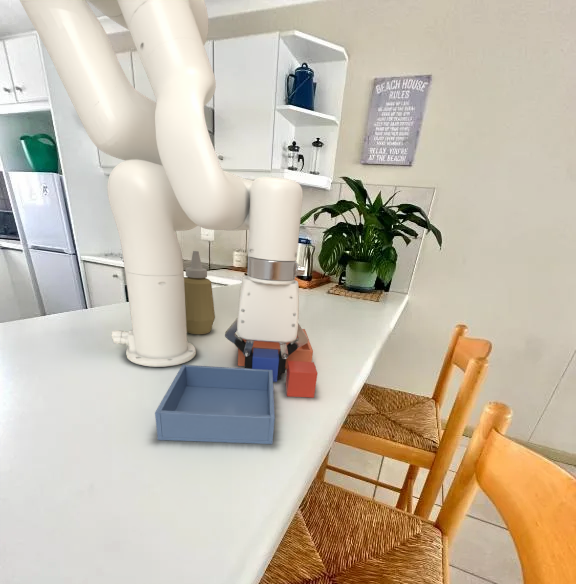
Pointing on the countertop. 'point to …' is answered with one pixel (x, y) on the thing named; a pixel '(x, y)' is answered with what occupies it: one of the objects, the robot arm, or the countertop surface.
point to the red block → (301, 379)
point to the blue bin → (218, 406)
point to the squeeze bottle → (198, 298)
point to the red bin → (300, 354)
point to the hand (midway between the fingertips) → (264, 374)
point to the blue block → (266, 360)
